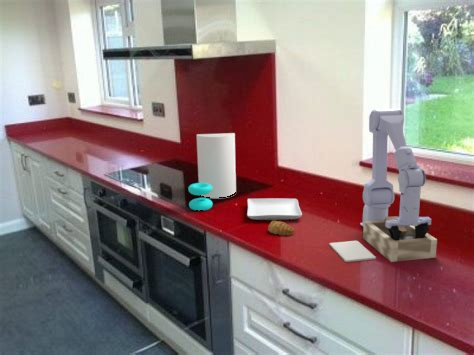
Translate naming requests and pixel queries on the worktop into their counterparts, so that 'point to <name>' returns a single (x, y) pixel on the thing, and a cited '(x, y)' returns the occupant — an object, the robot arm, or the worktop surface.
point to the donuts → (200, 202)
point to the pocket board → (398, 243)
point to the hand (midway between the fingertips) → (406, 247)
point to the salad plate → (273, 209)
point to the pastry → (280, 228)
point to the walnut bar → (398, 227)
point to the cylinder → (217, 163)
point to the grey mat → (352, 251)
